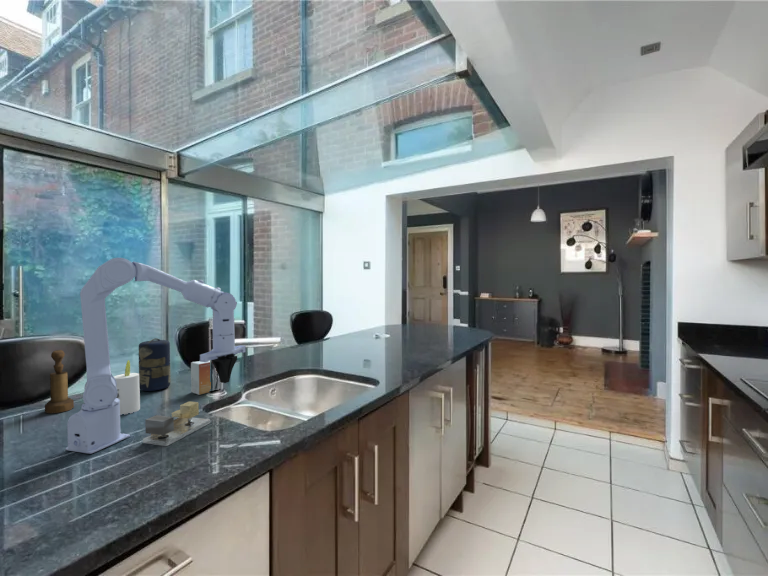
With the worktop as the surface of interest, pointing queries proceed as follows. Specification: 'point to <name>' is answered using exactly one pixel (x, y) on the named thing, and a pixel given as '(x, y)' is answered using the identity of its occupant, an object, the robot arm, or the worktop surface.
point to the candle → (128, 391)
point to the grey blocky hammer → (162, 424)
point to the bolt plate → (177, 432)
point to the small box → (200, 377)
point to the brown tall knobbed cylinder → (58, 387)
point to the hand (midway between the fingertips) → (224, 382)
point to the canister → (154, 365)
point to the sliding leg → (187, 411)
